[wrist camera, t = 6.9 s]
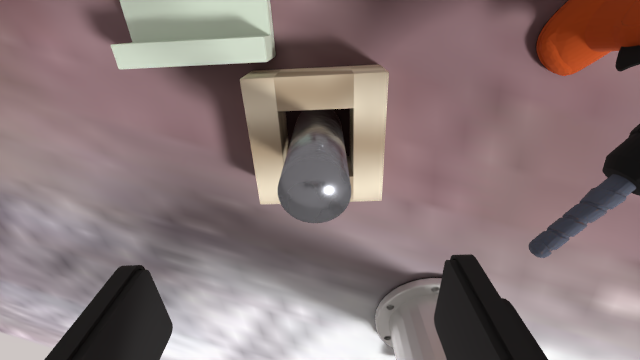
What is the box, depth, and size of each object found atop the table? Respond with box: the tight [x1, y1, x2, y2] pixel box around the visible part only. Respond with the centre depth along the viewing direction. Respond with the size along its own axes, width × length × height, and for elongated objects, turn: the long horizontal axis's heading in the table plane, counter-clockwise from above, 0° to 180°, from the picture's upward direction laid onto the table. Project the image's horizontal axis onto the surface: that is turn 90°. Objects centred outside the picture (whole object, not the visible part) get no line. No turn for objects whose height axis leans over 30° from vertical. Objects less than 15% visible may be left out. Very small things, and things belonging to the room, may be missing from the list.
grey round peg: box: [278, 109, 351, 223], centre depth 21 cm, size 4×4×11 cm
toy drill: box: [529, 0, 640, 258], centre depth 17 cm, size 5×19×15 cm, turn 139°
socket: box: [240, 65, 389, 204], centre depth 24 cm, size 10×10×4 cm
